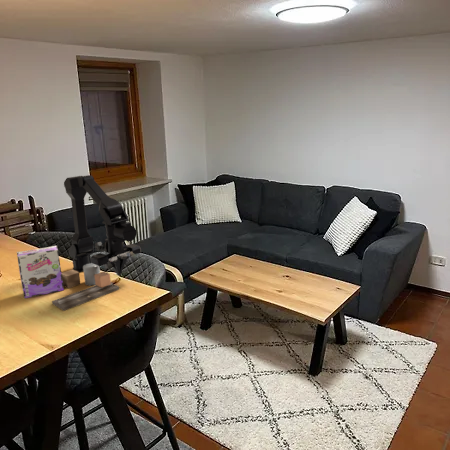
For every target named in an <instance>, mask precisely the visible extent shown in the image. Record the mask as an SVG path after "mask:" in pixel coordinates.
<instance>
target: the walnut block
mask: <svg viewBox="0 0 450 450" xmlns="http://www.w3.org/2000/svg"><path fill="white" fill-rule="evenodd" d="M61 274H62V281H63V287H65V288H67V289H71V288H73V287H77V286H79V285H81V278H80V277H81V276H80V272H79V271H76V270H74V269H73V268H72V269H70V270H67V271H63V272H61Z"/></svg>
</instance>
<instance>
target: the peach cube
mask: <svg viewBox="0 0 450 450" xmlns="http://www.w3.org/2000/svg"><path fill="white" fill-rule="evenodd" d="M94 276H95V284H96V285H97V286H99V287H101V288H102V287H104V286H107V285H110V284H111V282H112V281H111V274H110V273H108V272H106V271H102V272H101V271H100V273H98V274H95V275H94Z"/></svg>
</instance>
